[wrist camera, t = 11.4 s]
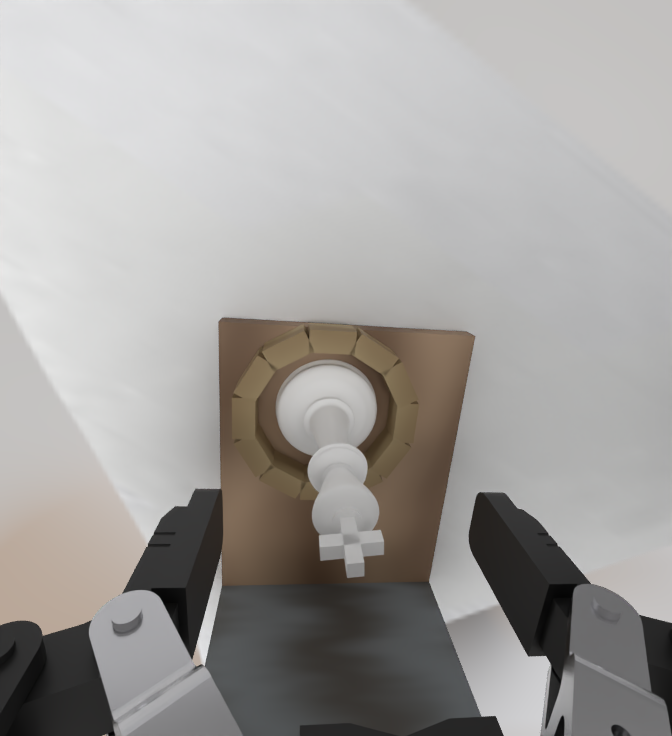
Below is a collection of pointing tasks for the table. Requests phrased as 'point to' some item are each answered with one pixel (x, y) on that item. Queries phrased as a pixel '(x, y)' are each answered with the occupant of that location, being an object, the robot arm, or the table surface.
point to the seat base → (301, 540)
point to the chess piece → (335, 455)
